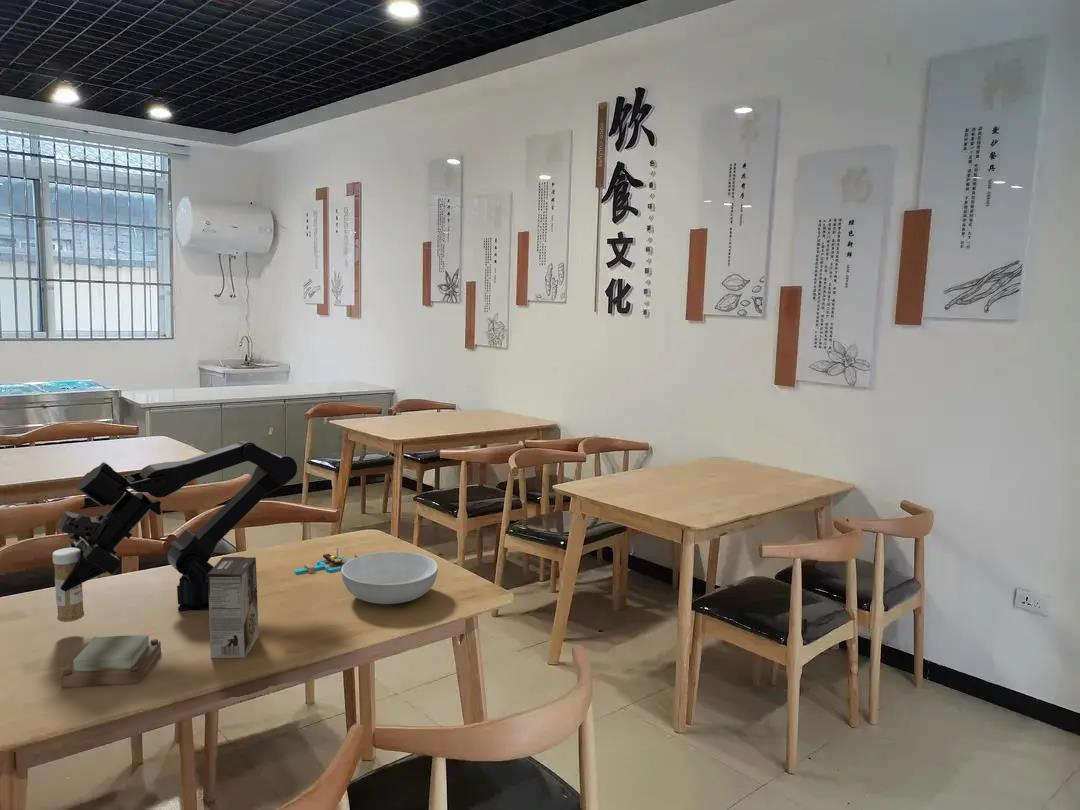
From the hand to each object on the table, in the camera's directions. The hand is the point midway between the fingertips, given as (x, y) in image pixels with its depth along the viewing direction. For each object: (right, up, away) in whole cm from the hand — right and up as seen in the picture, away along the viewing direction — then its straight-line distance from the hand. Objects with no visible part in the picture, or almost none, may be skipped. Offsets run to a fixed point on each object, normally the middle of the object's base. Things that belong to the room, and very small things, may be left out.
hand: (60, 586), depth 146 cm
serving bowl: (+58, -8, +24) cm, 63 cm away
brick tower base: (+16, -12, -11) cm, 23 cm away
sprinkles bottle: (+1, -7, +2) cm, 7 cm away
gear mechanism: (+40, -5, +43) cm, 59 cm away
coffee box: (+34, -11, -2) cm, 36 cm away
